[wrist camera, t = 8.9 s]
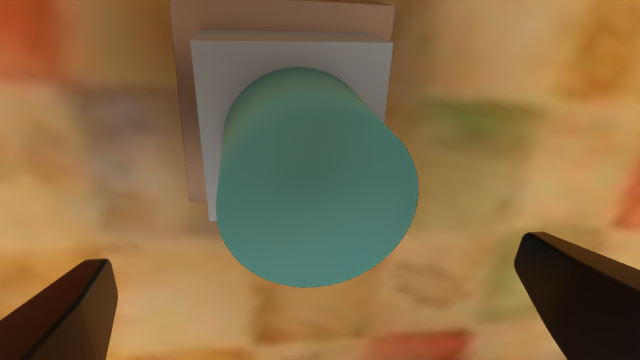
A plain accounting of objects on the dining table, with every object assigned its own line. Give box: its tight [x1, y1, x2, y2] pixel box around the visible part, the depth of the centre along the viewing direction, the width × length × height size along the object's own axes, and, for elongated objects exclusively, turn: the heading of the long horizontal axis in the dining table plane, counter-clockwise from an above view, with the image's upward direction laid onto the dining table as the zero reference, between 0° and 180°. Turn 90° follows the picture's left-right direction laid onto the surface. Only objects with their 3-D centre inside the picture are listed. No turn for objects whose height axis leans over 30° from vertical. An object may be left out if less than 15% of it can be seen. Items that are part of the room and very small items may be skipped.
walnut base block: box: [169, 0, 396, 203], centre depth 19 cm, size 9×9×3 cm
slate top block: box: [190, 30, 394, 222], centre depth 17 cm, size 7×7×3 cm
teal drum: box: [216, 67, 418, 287], centre depth 13 cm, size 6×6×5 cm
